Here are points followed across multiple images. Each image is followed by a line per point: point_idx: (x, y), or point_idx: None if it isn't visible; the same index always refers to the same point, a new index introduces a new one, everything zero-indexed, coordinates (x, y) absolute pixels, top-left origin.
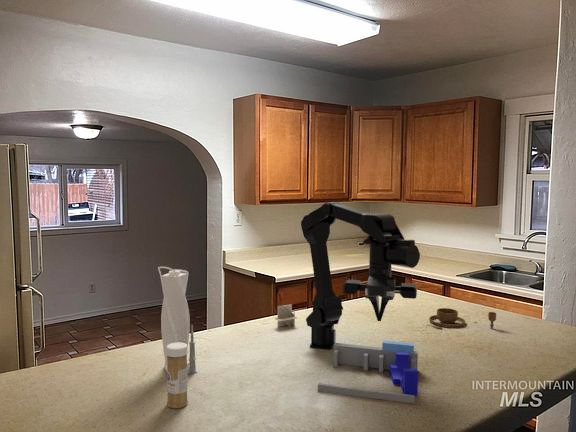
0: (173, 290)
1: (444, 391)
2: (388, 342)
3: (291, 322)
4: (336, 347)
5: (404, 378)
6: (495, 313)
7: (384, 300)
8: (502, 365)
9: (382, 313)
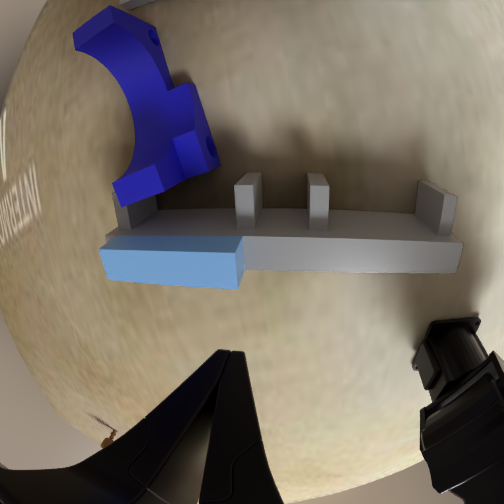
0: None
1: (69, 113)
2: (205, 265)
3: None
4: (449, 238)
5: (127, 15)
6: (102, 447)
7: (57, 498)
8: (37, 303)
9: (176, 395)
